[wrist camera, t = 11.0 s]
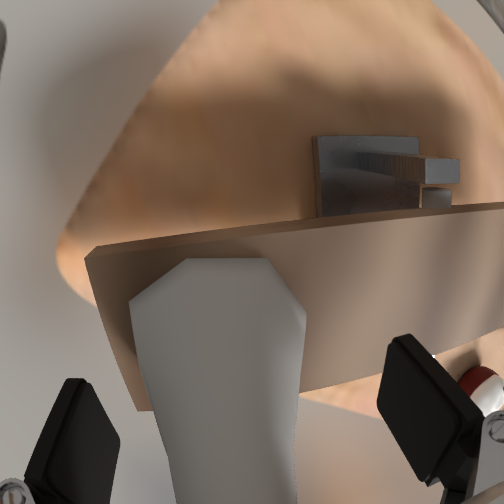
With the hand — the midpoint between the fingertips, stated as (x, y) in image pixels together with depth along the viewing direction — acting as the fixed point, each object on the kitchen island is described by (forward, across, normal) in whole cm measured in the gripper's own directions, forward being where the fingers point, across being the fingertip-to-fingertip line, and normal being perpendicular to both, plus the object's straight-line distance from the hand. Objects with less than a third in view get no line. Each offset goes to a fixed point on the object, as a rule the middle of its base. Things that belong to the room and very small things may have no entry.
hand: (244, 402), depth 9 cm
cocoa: (+14, -29, +21) cm, 38 cm away
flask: (+4, +1, 0) cm, 4 cm away
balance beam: (+6, -11, 0) cm, 12 cm away
